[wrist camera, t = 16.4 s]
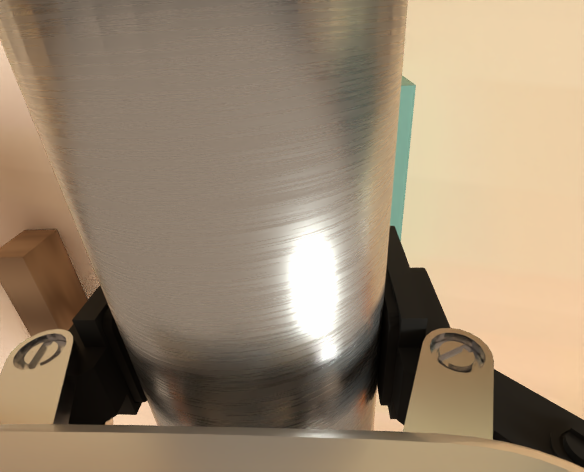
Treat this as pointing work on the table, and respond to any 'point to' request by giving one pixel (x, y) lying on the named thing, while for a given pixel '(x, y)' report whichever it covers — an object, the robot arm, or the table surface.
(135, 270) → the steel axle
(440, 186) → the table surface
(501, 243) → the table surface
